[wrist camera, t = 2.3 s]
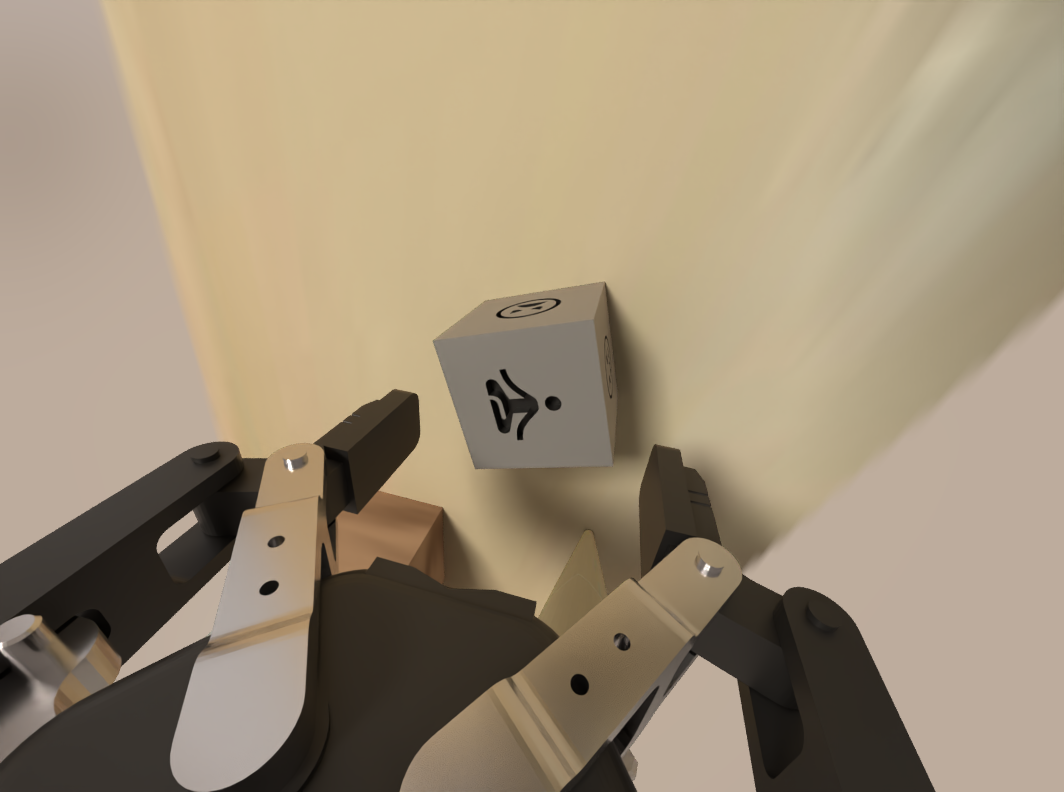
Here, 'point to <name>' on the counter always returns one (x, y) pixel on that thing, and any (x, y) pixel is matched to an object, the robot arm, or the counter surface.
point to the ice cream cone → (579, 600)
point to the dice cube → (535, 379)
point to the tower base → (393, 535)
